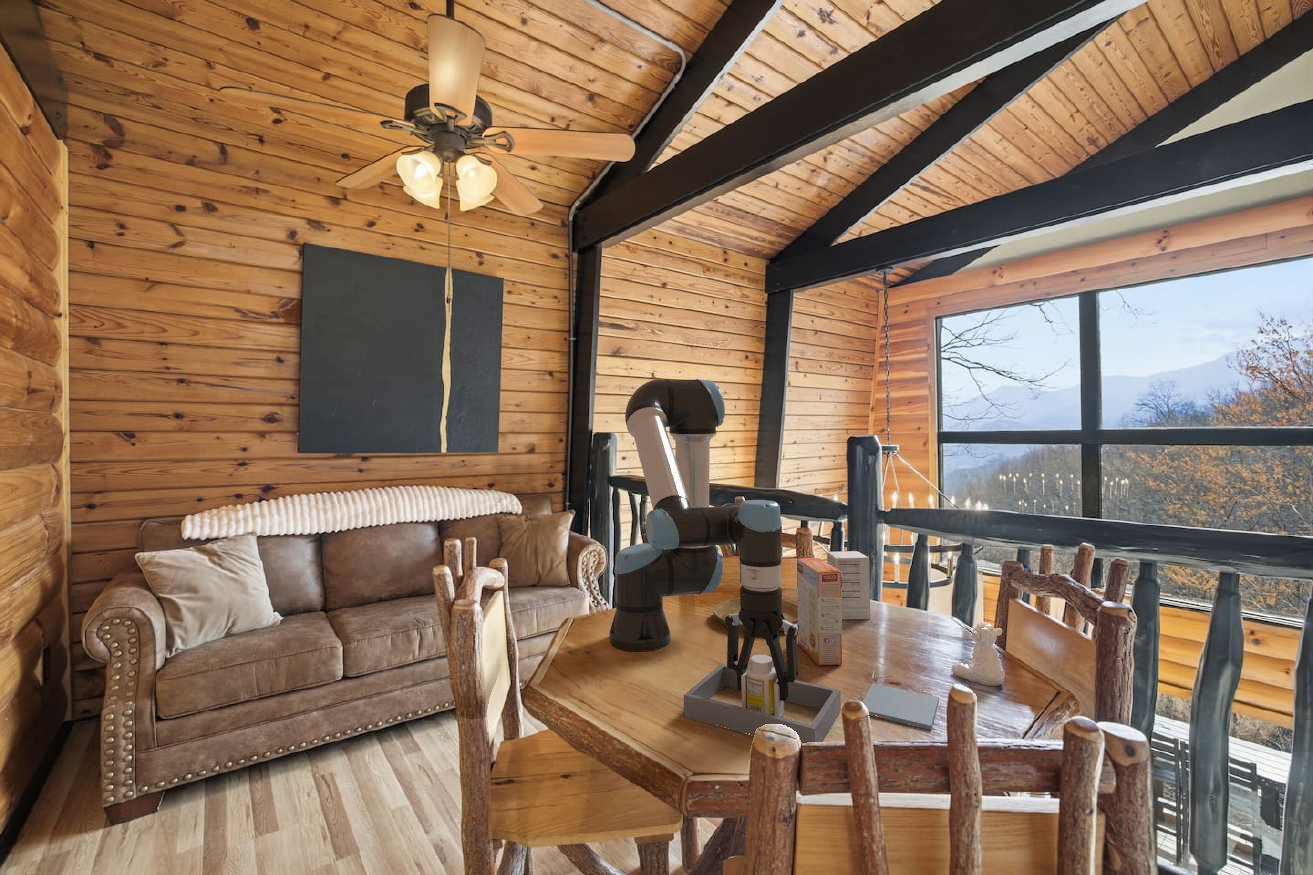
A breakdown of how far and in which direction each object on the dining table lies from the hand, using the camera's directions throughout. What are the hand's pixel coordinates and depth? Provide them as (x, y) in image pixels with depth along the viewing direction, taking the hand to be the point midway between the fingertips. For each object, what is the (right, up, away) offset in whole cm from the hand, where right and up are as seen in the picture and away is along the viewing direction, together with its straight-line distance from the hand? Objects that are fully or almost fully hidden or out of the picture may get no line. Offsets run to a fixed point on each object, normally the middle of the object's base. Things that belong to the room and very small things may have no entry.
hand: (762, 712), depth 105 cm
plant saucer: (+8, 0, +51) cm, 52 cm away
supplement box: (+34, +1, +55) cm, 65 cm away
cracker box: (+18, 0, +28) cm, 33 cm away
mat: (+26, 0, +2) cm, 26 cm away
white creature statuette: (+48, 0, +13) cm, 50 cm away
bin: (0, 0, 0) cm, 0 cm away
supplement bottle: (0, -1, 0) cm, 1 cm away
